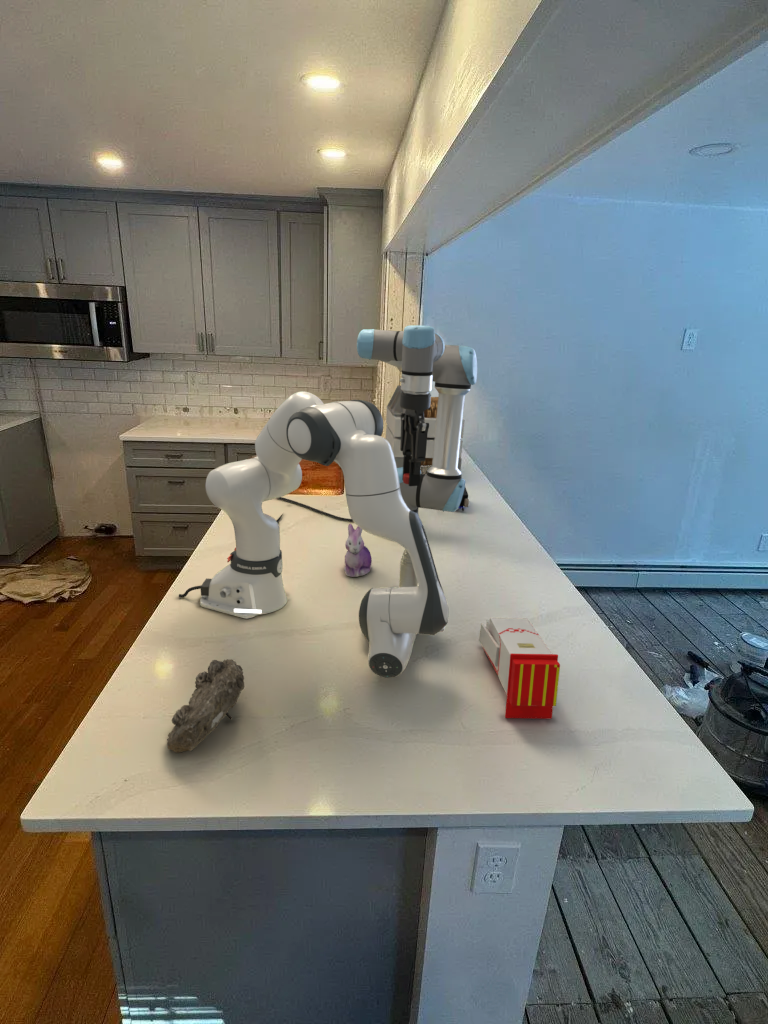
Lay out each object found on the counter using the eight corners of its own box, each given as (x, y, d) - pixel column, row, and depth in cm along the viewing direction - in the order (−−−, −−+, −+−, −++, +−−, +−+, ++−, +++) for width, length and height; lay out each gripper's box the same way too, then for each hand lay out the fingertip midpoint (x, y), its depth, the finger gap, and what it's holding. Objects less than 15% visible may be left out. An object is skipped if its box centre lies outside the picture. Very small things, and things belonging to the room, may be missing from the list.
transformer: (382, 463, 289) (386, 382, 275) (445, 464, 293) (451, 384, 279) (390, 482, 257) (394, 392, 243) (460, 483, 261) (468, 394, 247)
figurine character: (468, 516, 224) (463, 500, 237) (471, 498, 221) (465, 483, 234) (452, 515, 224) (447, 499, 237) (453, 498, 220) (449, 482, 234)
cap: (416, 479, 149) (417, 472, 149) (419, 484, 146) (420, 477, 145) (401, 480, 149) (402, 473, 148) (404, 484, 145) (404, 477, 144)
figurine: (350, 580, 164) (351, 532, 159) (336, 566, 172) (336, 520, 167) (379, 575, 168) (381, 528, 163) (364, 561, 176) (365, 516, 171)
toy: (525, 603, 136) (569, 660, 107) (520, 654, 139) (562, 725, 109) (475, 601, 135) (505, 659, 106) (471, 653, 138) (499, 724, 109)
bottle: (416, 626, 142) (421, 544, 134) (397, 626, 142) (402, 544, 134) (413, 617, 146) (419, 537, 139) (396, 617, 146) (400, 537, 138)
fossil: (192, 660, 117) (244, 628, 112) (224, 691, 120) (276, 661, 115) (142, 746, 98) (202, 712, 93) (182, 779, 101) (242, 748, 96)
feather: (290, 508, 223) (292, 504, 223) (272, 532, 197) (275, 527, 196) (286, 505, 223) (289, 501, 223) (268, 529, 197) (271, 525, 196)
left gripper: (444, 621, 127) (450, 593, 140) (356, 609, 131) (369, 582, 143) (442, 645, 129) (447, 615, 142) (355, 632, 133) (368, 604, 146)
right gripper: (390, 386, 145) (386, 474, 153) (414, 398, 130) (409, 494, 139) (417, 386, 147) (412, 472, 156) (444, 397, 133) (437, 492, 141)
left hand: (407, 598), depth 143 cm, fingers closed on bottle, 4 cm apart
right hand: (410, 482), depth 147 cm, fingers closed on cap, 4 cm apart
